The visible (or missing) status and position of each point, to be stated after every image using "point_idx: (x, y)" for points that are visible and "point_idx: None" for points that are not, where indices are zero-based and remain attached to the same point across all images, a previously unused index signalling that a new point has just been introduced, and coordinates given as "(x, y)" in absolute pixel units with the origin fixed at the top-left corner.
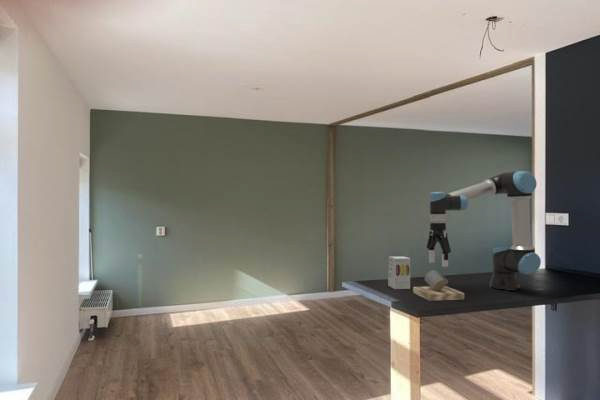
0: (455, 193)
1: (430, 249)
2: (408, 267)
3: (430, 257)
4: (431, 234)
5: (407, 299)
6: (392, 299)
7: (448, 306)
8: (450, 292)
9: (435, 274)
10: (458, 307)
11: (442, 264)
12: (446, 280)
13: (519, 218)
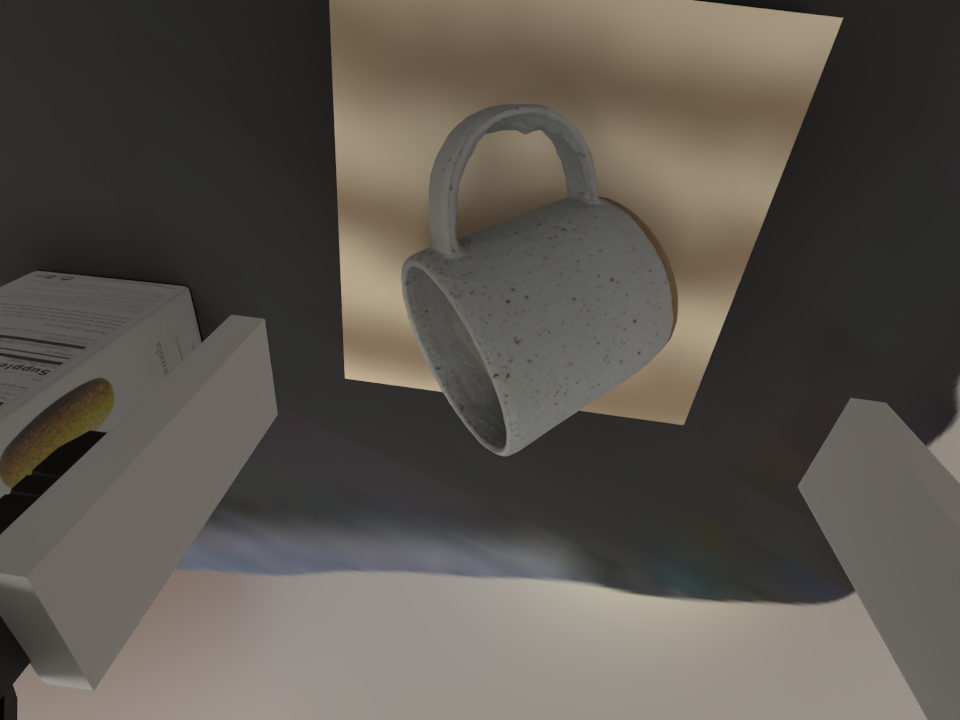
0: None
1: (3, 679)
2: (26, 435)
3: (217, 484)
4: None
5: (565, 494)
6: (532, 561)
7: (903, 367)
8: (710, 178)
9: (583, 389)
10: None
11: (831, 525)
12: (540, 124)
13: None
